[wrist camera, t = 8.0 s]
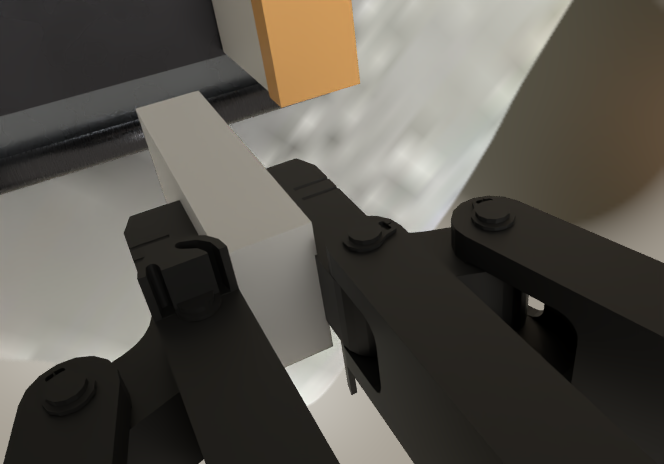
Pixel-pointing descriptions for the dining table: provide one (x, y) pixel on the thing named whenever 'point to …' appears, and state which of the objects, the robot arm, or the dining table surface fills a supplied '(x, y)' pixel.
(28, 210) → the dining table surface
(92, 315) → the dining table surface
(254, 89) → the switch panel
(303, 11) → the switch knob
